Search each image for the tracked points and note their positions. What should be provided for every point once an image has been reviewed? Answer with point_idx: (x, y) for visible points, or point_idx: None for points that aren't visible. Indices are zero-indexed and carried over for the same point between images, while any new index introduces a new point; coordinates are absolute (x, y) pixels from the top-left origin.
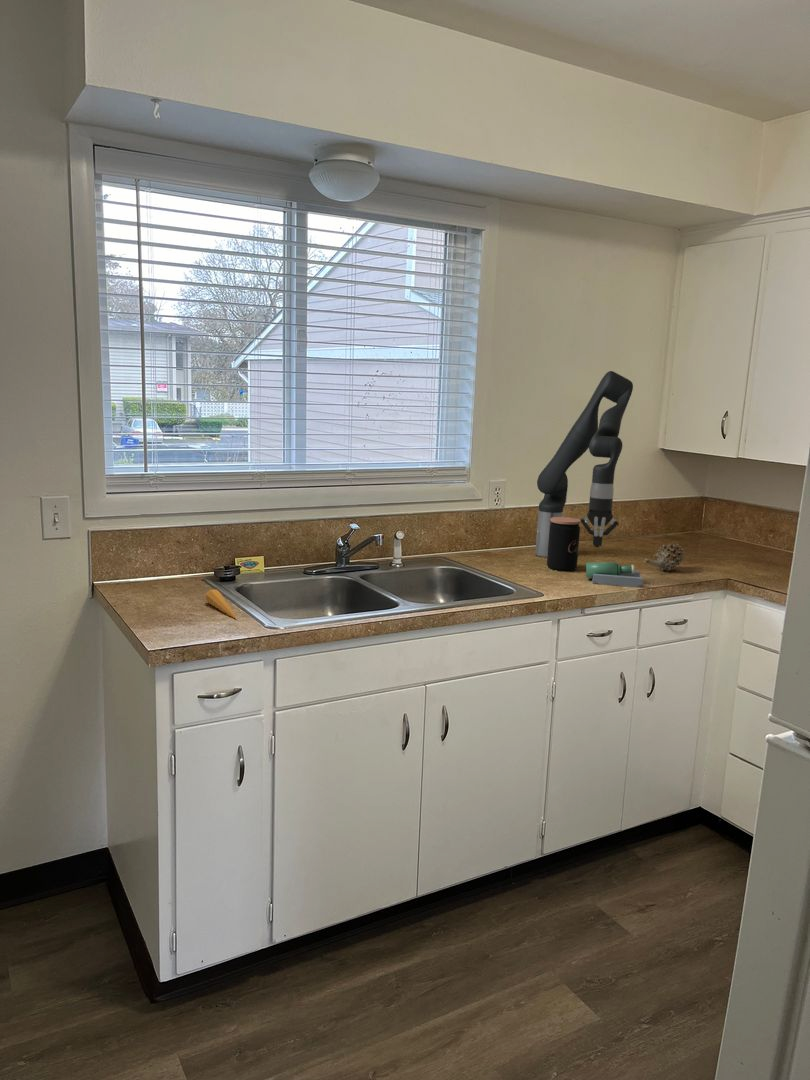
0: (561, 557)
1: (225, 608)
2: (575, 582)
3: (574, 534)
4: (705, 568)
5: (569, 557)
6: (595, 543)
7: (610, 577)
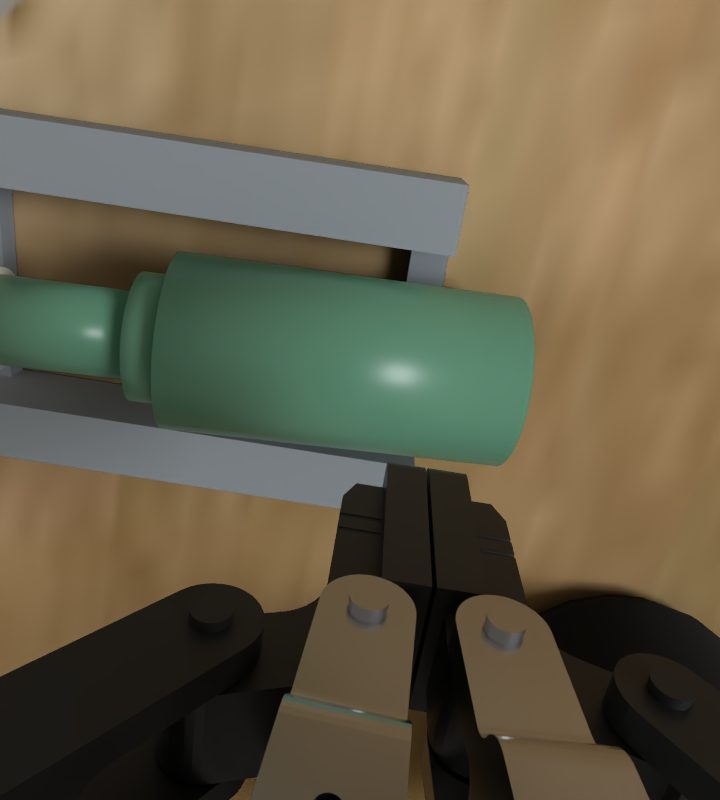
0: None
1: None
2: (637, 204)
3: None
4: None
5: None
6: (469, 501)
7: (276, 154)
